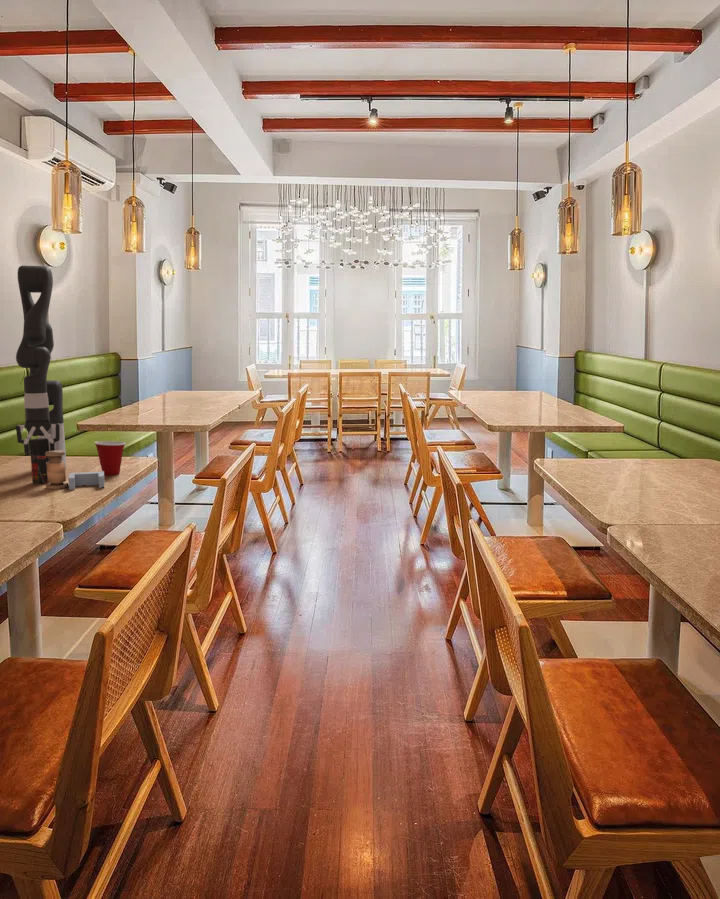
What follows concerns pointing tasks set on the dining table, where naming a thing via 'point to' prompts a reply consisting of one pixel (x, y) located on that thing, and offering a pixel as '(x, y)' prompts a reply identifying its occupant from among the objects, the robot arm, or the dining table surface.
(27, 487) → the dining table surface
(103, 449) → the plastic cup
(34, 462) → the deodorant
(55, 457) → the bobbin
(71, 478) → the notch board
